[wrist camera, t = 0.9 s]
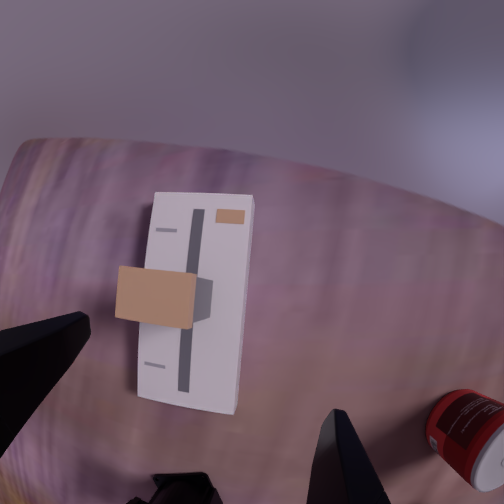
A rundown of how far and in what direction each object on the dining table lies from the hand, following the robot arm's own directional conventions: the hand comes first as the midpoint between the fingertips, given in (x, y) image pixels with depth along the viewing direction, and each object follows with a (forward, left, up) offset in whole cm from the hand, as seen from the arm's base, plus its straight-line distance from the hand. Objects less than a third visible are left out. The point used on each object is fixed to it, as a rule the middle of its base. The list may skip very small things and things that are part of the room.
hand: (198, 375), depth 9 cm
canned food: (+18, -18, -18) cm, 31 cm away
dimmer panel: (-4, +3, -17) cm, 18 cm away
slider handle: (-4, +4, -14) cm, 15 cm away
